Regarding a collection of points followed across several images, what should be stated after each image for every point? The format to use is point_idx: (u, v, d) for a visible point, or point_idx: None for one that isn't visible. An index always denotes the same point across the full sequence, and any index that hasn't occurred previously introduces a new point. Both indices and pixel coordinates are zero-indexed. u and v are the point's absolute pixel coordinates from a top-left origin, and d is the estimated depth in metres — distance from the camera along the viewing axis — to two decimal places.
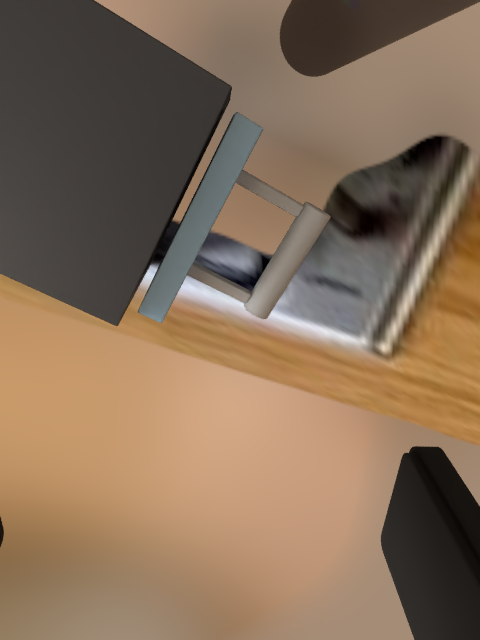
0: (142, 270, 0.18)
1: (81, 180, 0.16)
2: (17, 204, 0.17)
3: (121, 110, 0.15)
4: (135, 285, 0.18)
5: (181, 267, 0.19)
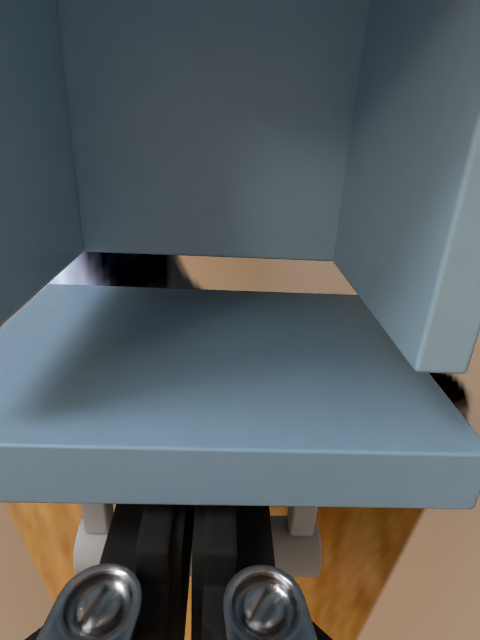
0: None
1: None
2: None
3: None
4: None
5: (77, 487, 0.07)
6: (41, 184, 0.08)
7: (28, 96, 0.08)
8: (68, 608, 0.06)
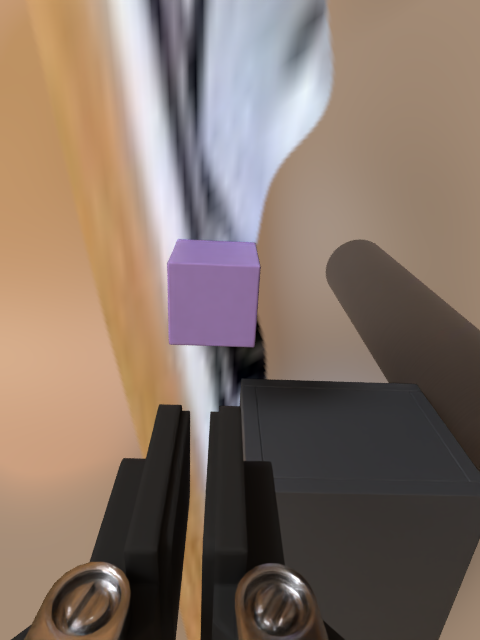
0: None
1: (340, 614, 0.21)
2: None
3: (396, 620, 0.22)
4: None
5: None
6: None
7: None
8: (57, 606, 0.06)
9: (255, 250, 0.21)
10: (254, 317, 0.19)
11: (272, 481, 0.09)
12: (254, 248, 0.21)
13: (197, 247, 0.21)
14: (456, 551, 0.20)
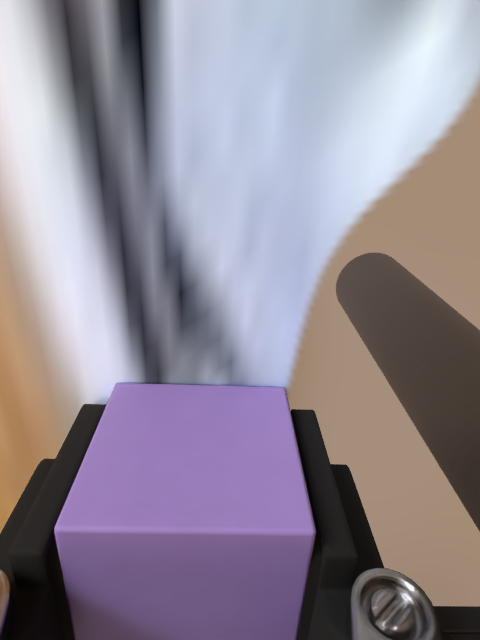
0: None
1: None
2: None
3: None
4: None
5: None
6: None
7: None
8: None
9: (290, 428, 0.09)
10: (294, 628, 0.08)
11: (353, 485, 0.09)
12: (287, 417, 0.09)
13: (154, 423, 0.09)
14: None
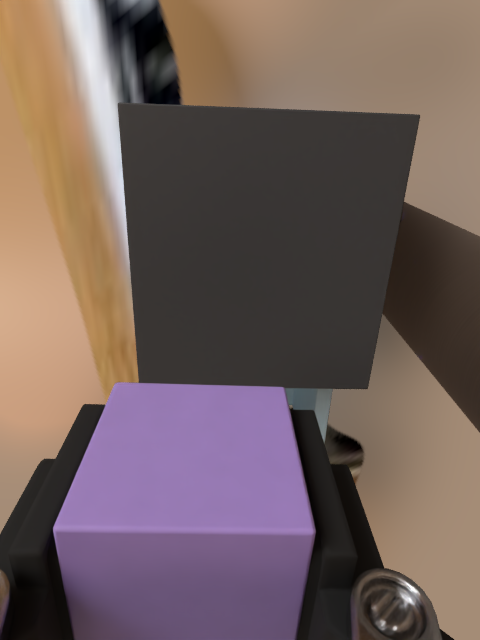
0: None
1: (254, 320, 0.18)
2: (207, 278, 0.17)
3: (321, 329, 0.19)
4: None
5: None
6: None
7: None
8: None
9: (290, 427, 0.09)
10: (294, 628, 0.08)
11: (353, 485, 0.09)
12: (286, 417, 0.09)
13: (154, 423, 0.09)
14: (380, 212, 0.17)
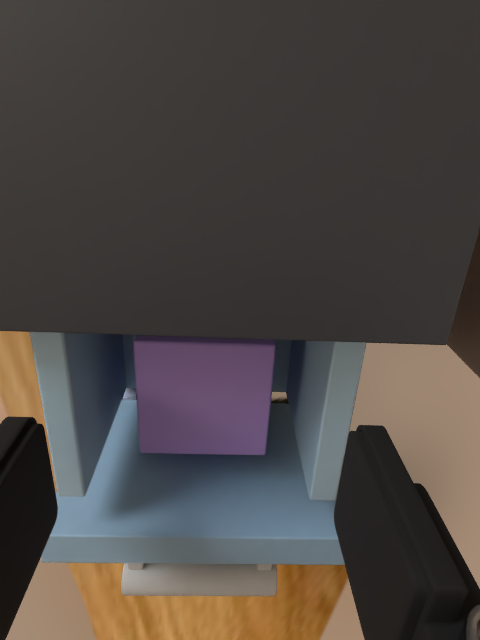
0: (81, 331, 0.09)
1: (188, 159, 0.07)
2: (56, 25, 0.07)
3: (351, 190, 0.08)
4: (43, 330, 0.09)
5: (137, 555, 0.13)
6: (110, 374, 0.15)
7: (106, 335, 0.14)
8: None
9: None
10: (266, 416, 0.13)
11: (433, 506, 0.09)
12: None
13: None
14: None
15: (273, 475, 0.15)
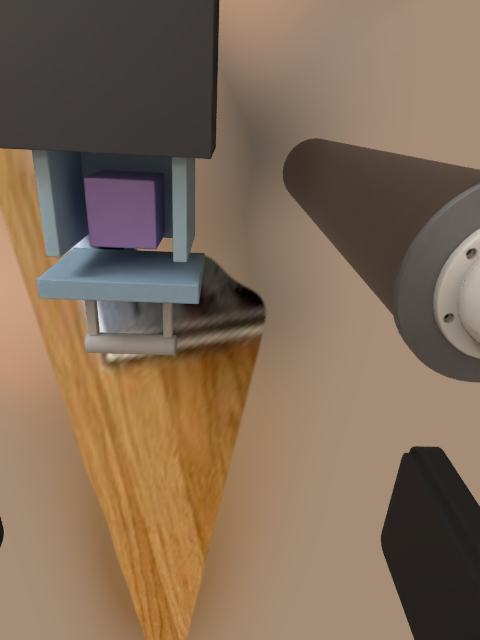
0: (54, 149, 0.21)
1: (93, 72, 0.20)
2: (43, 21, 0.19)
3: (157, 85, 0.20)
4: (39, 148, 0.21)
5: (87, 294, 0.25)
6: (76, 211, 0.27)
7: (73, 186, 0.26)
8: None
9: (159, 175, 0.27)
10: (154, 223, 0.25)
11: None
12: (159, 174, 0.27)
13: (114, 173, 0.27)
14: None
15: (166, 270, 0.27)
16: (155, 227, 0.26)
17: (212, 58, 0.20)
